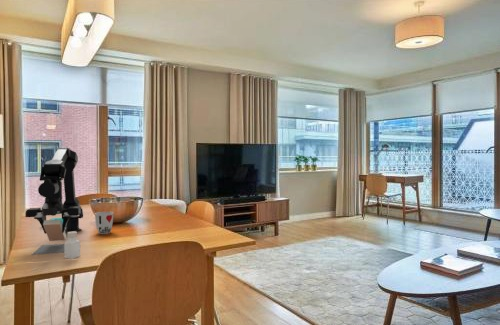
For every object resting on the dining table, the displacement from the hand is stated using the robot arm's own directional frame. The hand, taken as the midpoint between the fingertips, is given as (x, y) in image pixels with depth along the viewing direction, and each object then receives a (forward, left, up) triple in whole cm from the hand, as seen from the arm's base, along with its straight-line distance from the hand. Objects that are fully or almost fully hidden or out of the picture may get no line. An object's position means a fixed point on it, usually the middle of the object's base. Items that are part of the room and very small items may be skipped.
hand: (54, 233), depth 141 cm
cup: (-14, +25, -7) cm, 30 cm away
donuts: (-49, +14, -7) cm, 51 cm away
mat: (+1, 0, -6) cm, 7 cm away
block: (-5, +2, -3) cm, 6 cm away
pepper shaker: (+17, +1, -7) cm, 19 cm away
